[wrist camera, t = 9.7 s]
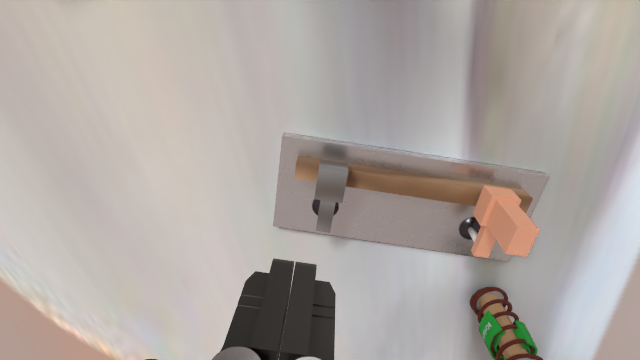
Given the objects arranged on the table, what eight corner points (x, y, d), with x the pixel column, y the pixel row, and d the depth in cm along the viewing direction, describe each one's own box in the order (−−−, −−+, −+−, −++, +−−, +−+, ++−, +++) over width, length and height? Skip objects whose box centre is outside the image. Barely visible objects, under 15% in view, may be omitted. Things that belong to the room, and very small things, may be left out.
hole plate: (283, 132, 41) (282, 136, 39) (543, 172, 41) (549, 177, 40) (274, 220, 46) (273, 226, 45) (505, 255, 46) (509, 262, 45)
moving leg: (477, 177, 40) (513, 222, 32) (504, 181, 40) (547, 228, 32) (456, 233, 43) (484, 287, 35) (481, 237, 43) (514, 292, 35)
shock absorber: (469, 275, 48) (519, 380, 35) (517, 280, 48) (585, 388, 35) (457, 310, 51) (498, 420, 37) (501, 315, 51) (559, 427, 37)
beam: (299, 148, 40) (294, 164, 36) (527, 183, 40) (547, 203, 37) (291, 206, 43) (286, 227, 40) (502, 238, 44) (518, 261, 40)
